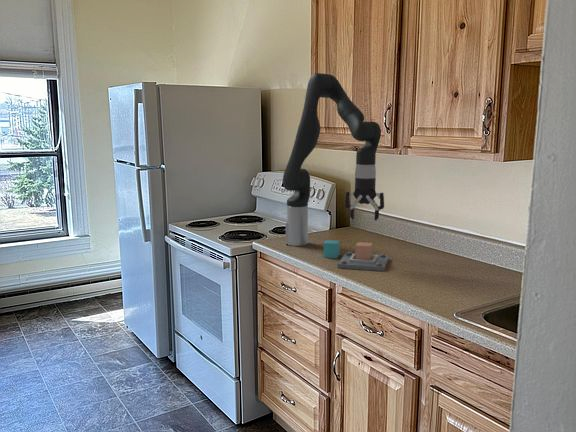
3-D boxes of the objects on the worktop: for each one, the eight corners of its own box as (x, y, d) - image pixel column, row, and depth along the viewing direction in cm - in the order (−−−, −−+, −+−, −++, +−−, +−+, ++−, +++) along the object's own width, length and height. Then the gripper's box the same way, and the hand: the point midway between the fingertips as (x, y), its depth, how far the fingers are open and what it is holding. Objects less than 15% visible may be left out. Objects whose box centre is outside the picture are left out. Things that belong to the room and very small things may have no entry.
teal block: (323, 257, 211) (323, 242, 210) (326, 254, 216) (326, 239, 215) (337, 258, 210) (337, 243, 209) (339, 255, 215) (339, 240, 214)
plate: (337, 267, 196) (337, 261, 195) (345, 256, 212) (345, 250, 211) (383, 271, 191) (384, 264, 191) (388, 259, 207) (388, 253, 207)
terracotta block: (355, 261, 199) (355, 245, 198) (357, 257, 205) (357, 242, 204) (369, 261, 198) (370, 246, 197) (371, 258, 203) (372, 243, 202)
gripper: (385, 176, 197) (384, 218, 200) (347, 174, 201) (347, 216, 204) (383, 178, 190) (382, 222, 193) (344, 177, 194) (343, 220, 197)
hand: (364, 219), depth 199 cm, fingers open, 8 cm apart
